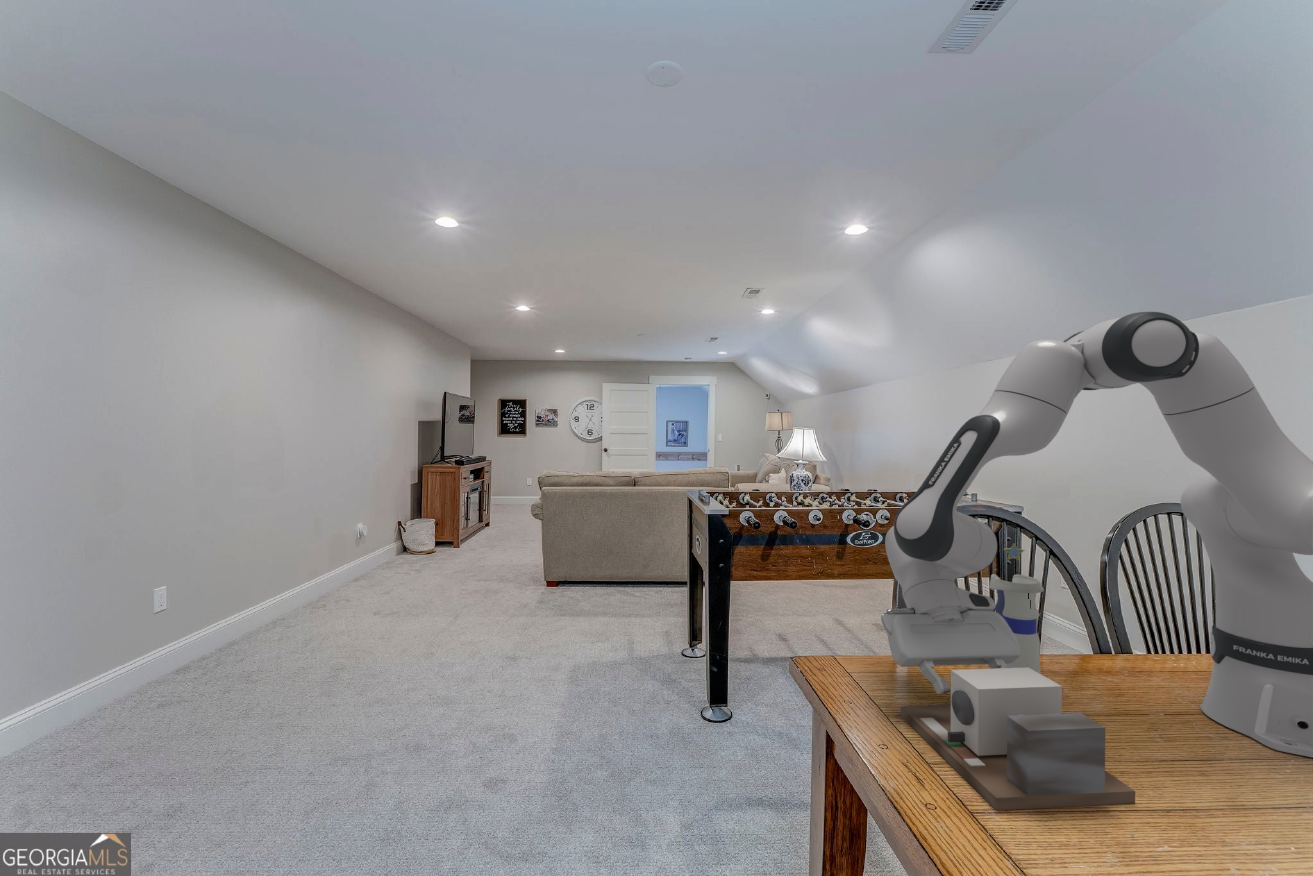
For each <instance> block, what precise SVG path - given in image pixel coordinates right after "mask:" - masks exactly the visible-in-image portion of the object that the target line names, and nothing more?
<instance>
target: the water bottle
mask: <svg viewBox="0 0 1313 876" xmlns="http://www.w3.org/2000/svg"><path fill="white" fill-rule="evenodd" d="M1003 551H1005V552H1006V553H1008V555H1007V558H1006V559H1007V560H1012V559H1015V560H1018V561H1021V558H1020V557H1021V556H1020V554H1022V553H1023V552H1025V549H1022V548H1021V549H1020V548H1018V546H1017V545H1016V544H1015V543H1013V544H1012V546H1011V547H1009V548H1003ZM988 589H989V590H990V591H995V590H996V596H997V598H996V599H997V600H996V603H995V605H996V607H995V609H994V610H993V611H994V612H997V613H998V614H1000V615H1001V616H1002V617H1003V618H1004V619H1005V621H1006V622H1007V624H1008V625H1009V627H1010V628H1011V630H1012V632H1013V633H1014V635H1015V637H1016V639H1017V641H1018V643H1019V645H1020V647H1021V654H1020V656H1019V657H1018V658H1017V659H1016V660H1015V661H1013V662H1012V663H1010V664H1006V668H1027V667H1029V668H1030V669H1032V670H1034V671H1036V672H1037V673H1039V674H1041V642H1040V641H1041V640H1040V636H1039V634H1038V629H1037V627H1038V618H1039V617H1040V613H1039V611H1038V609H1037V607H1036V606H1037V605H1036V597H1037V594H1040V593H1043V592H1044V591H1045V589H1044V587H1043V585H1042V584H1041V581H1040V580H1039V579H1038V578H1034V577H1032V576H1028V575H1025V574H1018V573H1017V574H1013V576H1012V580H1011V581H1008V580H1002V579H1000V578H999V576H998V575H996V574H995V573H992V574H991V575H990V581H989V587H988ZM1028 593H1029V599H1028ZM1030 600H1031V609H1030ZM1041 675H1042V674H1041Z"/></svg>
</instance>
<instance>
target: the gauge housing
mask: <svg viewBox="0 0 1313 876" xmlns="http://www.w3.org/2000/svg"><path fill="white" fill-rule="evenodd" d="M950 705H951V732H948V741H949V742H963V743H964V744H965V745H967V746H968V747H969V748H970V749H971V750H972V751H973V752H975V753H976V754H977V755H978V756H980V755H1003V754H1007V716H1014V715H1040V714H1063V713H1062V712H1063V686H1062V685H1060V684H1059V683H1057V682H1055V681H1053V680H1052V679H1050V678H1048V677H1047V676H1045V675H1043V674H1039V673H1037V672H1036V671H1034V670H1032V669H1030V668H1029V667H1027V668H995V669H990V668H972V669H971V668H969V669H967V668H966V669H950Z"/></svg>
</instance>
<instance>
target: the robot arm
mask: <svg viewBox="0 0 1313 876" xmlns="http://www.w3.org/2000/svg"><path fill="white" fill-rule="evenodd" d="M1137 384H1140V385H1141V386H1143V387H1144V388H1146V390H1148V391H1149V393H1150V394H1151V395H1152V396H1153V398H1154V401H1156V404H1157V406H1158V409H1159V410H1160V413H1161V414H1162V416H1163V418H1164V420H1165V422H1166V424H1167V425H1168V427H1169V429H1170V431H1171V433H1172V434H1173V437H1174V438H1175V441H1176V443H1177V444H1178V446H1179V447H1180V449H1181V451H1182V452H1183V454H1184V455H1185V457H1187V458H1188V459H1189V461H1191V462H1193V463H1194V464H1196V465H1198V466H1199V467H1201V468H1202V469H1204V470H1205V471H1206V472H1207V473H1208V474H1210V476H1203V477H1200V478H1198V479H1195V480H1194V481H1192V482H1191V483H1189V484H1188V485H1187V486H1186V487H1185V488H1184V490H1183V492H1182V493H1181V497H1180V508H1181V512H1182V514H1183V515H1184V517H1185V518H1186V519H1187V520H1188V521H1189V522H1190V523H1191V525H1192V526H1193V527H1194V528H1195V530H1196V531H1197V532H1198V534H1199V536H1200V539H1201V541H1202V543H1203V546H1204V548H1205V550H1206V553H1207V556H1208V559H1209V562H1210V565H1211V568H1212V569H1211V570H1212V574H1213V577H1214V588H1215V593H1214V594H1215V624H1213V625H1212V626H1211V632H1210V656H1211V658H1212V659H1211V660H1212V661H1213V664H1212V669H1211V675H1210V680H1209V685H1208V688H1207V691H1206V694H1205V697H1204V698H1203V701H1202V702H1201V704H1200V709H1201V711H1202V712H1203V713H1204V714H1205V716H1207V717H1208V718H1210V719H1212V720H1214V721H1215V722H1217V723H1219V724H1220V725H1222V726H1223V727H1224V726H1225V727H1227V728H1229V729H1231V730H1234V731H1236V732H1238V733H1240V734H1243V735H1245V736H1247V737H1250V738H1252V739H1254V740H1255V741H1257V742H1259V743H1260V744H1262V745H1264V746H1266V747H1268V748H1271V749H1273V750H1276V751H1280V752H1284V753H1288V754H1293V755H1298V756H1304V757H1309V758H1313V581H1312V579H1310V578H1309V577H1308V576H1307V575H1306V574H1305V573H1304V572H1303V570H1302V569H1301V568H1300V565H1299V564H1298V562H1297V560H1296V557H1295V555H1294V554H1298V555H1304V556H1313V460H1311V459H1310V458H1309V457H1308V456H1307V455H1306V454H1305V453H1304V452H1303V451H1301V449H1299V447H1297V446H1296V445H1295V444H1294V443H1293V442H1292V441H1291V439H1289V438H1288V436H1287V435H1286V434H1285V432H1283V430H1282V429H1281V427H1280V426H1279V425H1278V423H1277V421H1276V419H1275V418H1274V417H1273V415H1272V413H1271V412H1270V409H1268V406H1267V405H1266V403H1265V401H1264V400H1263V397H1262V396H1261V394H1260V393H1259V391H1258V389H1257V388H1256V386H1255V384H1254V383H1253V381H1252V379H1251V377H1250V375H1249V374H1248V373H1247V371H1246V370H1245V368H1244V367H1243V365H1242V364H1241V363H1240V361H1239V360H1238V359H1237V357H1236V356H1235V355H1234V354H1233V353H1232V352H1231V350H1230V349H1229V348H1228V347H1227V345H1225V343H1223V342H1222V341H1221V340H1220V339H1219V338H1218V337H1217V336H1215V335H1213V334H1211V333H1207V332H1206V333H1205V332H1193V331H1192V330H1190V328H1189V327H1188V326H1187V325H1186V324H1185V323H1184V322H1182V321H1181V320H1180V319H1178V318H1177V317H1175V316H1173V315H1171V314H1168V313H1165V312H1159V311H1141V312H1132V313H1129V314H1127V315H1124V316H1121V317H1115V318H1111V319H1109V320H1104V321H1101V322H1099V323H1097V324H1095V325H1092V327H1089V328H1087V329H1085V330H1082V331H1078V332H1077V333H1074V334H1072V335H1070V336H1069V337H1067V338H1066V339H1064V340H1063V341H1061V340H1058V339H1048V338H1047V339H1046V338H1045V339H1037V340H1033V341H1031V342H1029V343H1027V344H1026V345H1024V346H1023V347H1022V348H1021V349H1020V351H1019V352H1018V353H1017V354H1016V356H1015V357H1014V359H1012V360H1011V362H1010V364H1009V366H1008V367H1007V368H1006V370H1005V371H1004V372H1003V374H1002V376H1001V378H1000V379H999V381H998V383H997V384H996V387H995V389H994V390H993V392H992V395H991V396H990V398H989V400H988V402H987V403H986V404H985V406H984V407H983V408H982V410H981V411H980V412H979V413H978V414H977V415H976V416H973V417H971V418H969V419H968V420H967V421H966V422H965V423H964V424H963V425H961V427H960V428H959V429H958V431H957V432H956V433H955V434H954V436H953V437H952V439H951V440H950V441H949V443H948V445H947V446H946V448H945V449H944V450H943V452H942V453H941V455H940V457H939V458H938V460H936V463H935V464H934V466H933V467H932V468H931V470H930V472H929V473H928V475H927V476H926V478H925V479H924V480H923V482H922V483H921V485H920V486H919V488H918V489H917V491H915V493H914V494H913V495H911V497H910V498H909V499H908V500H907V501H906V502H905V503H904V504H903V505H902V506H901V507H900V508H899V510H898V511H897V513H896V516H895V518H894V522H893V526H892V527H890V528H889V530H888V531H887V532H886V535H885V539H884V545H885V552H886V556H887V559H888V562H889V565H890V568H891V571H892V573H893V575H894V578H895V580H896V581H897V582H898V583H899V585H900V587H901V591H902V598H903V600H904V603H905V605H906V608H905V607H903V608H888V609H886V611H884V612H883V613H882V614H881V616H880V617H881V618H880V621H881V622H882V627H883V629H884V630H885V632H886V633H887V639H888V645H889V650H890V653H891V656H892V659H893V661H894V662H895V663H896V664H897V665H898V666H899V667H902V668H904V667H905V668H908V667H909V668H910V667H918V668H919V671H920V673H921V674H922V676H924V677H925V679H927V680H928V682H930V683H931V684H932V685H933V688H934V691H935V693H936V695H947V694H949V693H951V685H949V682H948V680H947V678H942V677H940V675H938V673H937V672H936V671H935V670H934V668H935V667H937V666H938V667H939V666H941V667H942V666H944V667H945V666H968V665H969V666H973V665H974V666H975V665H988V667H989V669H995V668H1006V664H1010V663H1012V662H1013V661H1015V660H1016V659H1017V658H1018V657H1019V656H1020V654H1021V647H1020V645H1019V643H1018V641H1017V639H1016V637H1015V635H1014V633H1013V632H1012V630H1011V628H1010V627H1009V625H1008V624H1007V622H1006V621H1005V619H1004V618H1003V617H1002V616H1001V615H1000V614H998V613H997V612H996V611H995V610H994V609H995V607H996V603H995V601H994V599H993V598H992V597H990V596H989V595H988V596H987V595H983V594H980V593H976V592H972V591H969V590H966V589H963V588H961V587H958V586H957V585H956V583H955V582H956V581H955V580H956V579H962V578H965V577H968V576H972V575H974V574H977V573H979V572H981V571H984V570H986V569H987V568H988V567H989V566H991V564H992V563H993V562H994V561H995V559H996V556H997V554H998V548H999V547H998V546H999V545H998V539H997V536H996V534H995V531H994V530H993V528H991V527H990V526H989V525H988V524H986V523H984V522H982V521H980V520H978V519H976V518H975V517H972V516H970V515H968V514H965V513H963V512H960V511H958V510H957V509H958V505H959V503H960V501H961V500H962V498H963V497H964V495H965V493H966V492H967V491H968V489H969V488H970V487H971V485H972V483H973V482H974V480H976V477H977V476H978V474H979V473H980V471H981V469H983V467H984V466H985V465H986V464H988V463H989V462H990V461H993V460H994V459H997V458H1000V457H1007V456H1012V457H1013V456H1026V455H1030V454H1033V453H1034V454H1035V453H1037V452H1039V451H1042V450H1043V449H1044V448H1046V447H1048V446H1049V444H1051V442H1053V440H1054V439H1055V437H1056V436H1057V434H1058V433H1059V432H1060V429H1061V428H1062V426H1063V424H1064V422H1065V419H1066V418H1067V416H1068V414H1069V412H1070V409H1071V407H1072V406H1073V403H1074V401H1075V399H1076V398H1077V397H1078V395H1079V394H1080V393H1081V392H1082V391H1098V390H1112V389H1120V388H1121V389H1122V388H1126V387H1129V386H1132V385H1137Z"/></svg>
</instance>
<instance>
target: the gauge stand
mask: <svg viewBox="0 0 1313 876" xmlns="http://www.w3.org/2000/svg"><path fill="white" fill-rule="evenodd" d="M900 717H901V718H902V719H903V720H904V721H905V722H906V723H907V724H908V725H909V726H910V727H911V728H912V729H913V730H914V731H915V732H916V733H917V734H918V735H919V736H921V738H922V739H924V741H925V742H926V743H927V744H929V746H930V747H932V749H933V750H934V751H936V753H938V755H940V756H941V757H942V758H943V759H944V760H945V762H947V763H948V765H950V767H952V768H953V769H954V770H955V771H956V773H958V774H959V775H960V776H961V777H962V779H964V780H965V781H966V782H967V783H968V784H969V785H970V786H971V787H972V788H973V789H974V790H975V791H976V792H978V794H979V795H980V796H981V797H982V798H983V799H984V800H985V802H987V803H988V804H989V805H990V806H991V807H992V808H993V809H995V811H1010V810H1011V811H1013V810H1029V809H1050V808H1051V809H1052V808H1067V807H1069V808H1070V807H1086V806H1105V805H1106V806H1107V805H1108V806H1109V805H1124V804H1125V805H1127V804H1136V790H1134V789H1133V788H1132V787H1130V786H1129V785H1127V784H1126V783H1125V782H1123V781H1121V780H1120V779H1118V778H1117V777H1115V776H1114V775H1112V774H1111V773H1110V772H1108V771H1107V770H1106V726H1103V725H1102V724H1100V723H1099V722H1096V721H1095V720H1094V719H1092V718H1090V717H1089V716H1087V715H1086V714H1083V713H1082V712H1073V713H1070V712H1069V713H1062V714H1040V715H1014V716H1007V754H1003V755H980V756H978V755H977V754H976V753H975V752H973V751H972V750H971V749H970V748H969V747H968V746H967V745H965V744H964V743H963V742H949V741H948V732H951V704H936V705H932V704H930V705H912V706H911V705H909V706H900Z"/></svg>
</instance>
